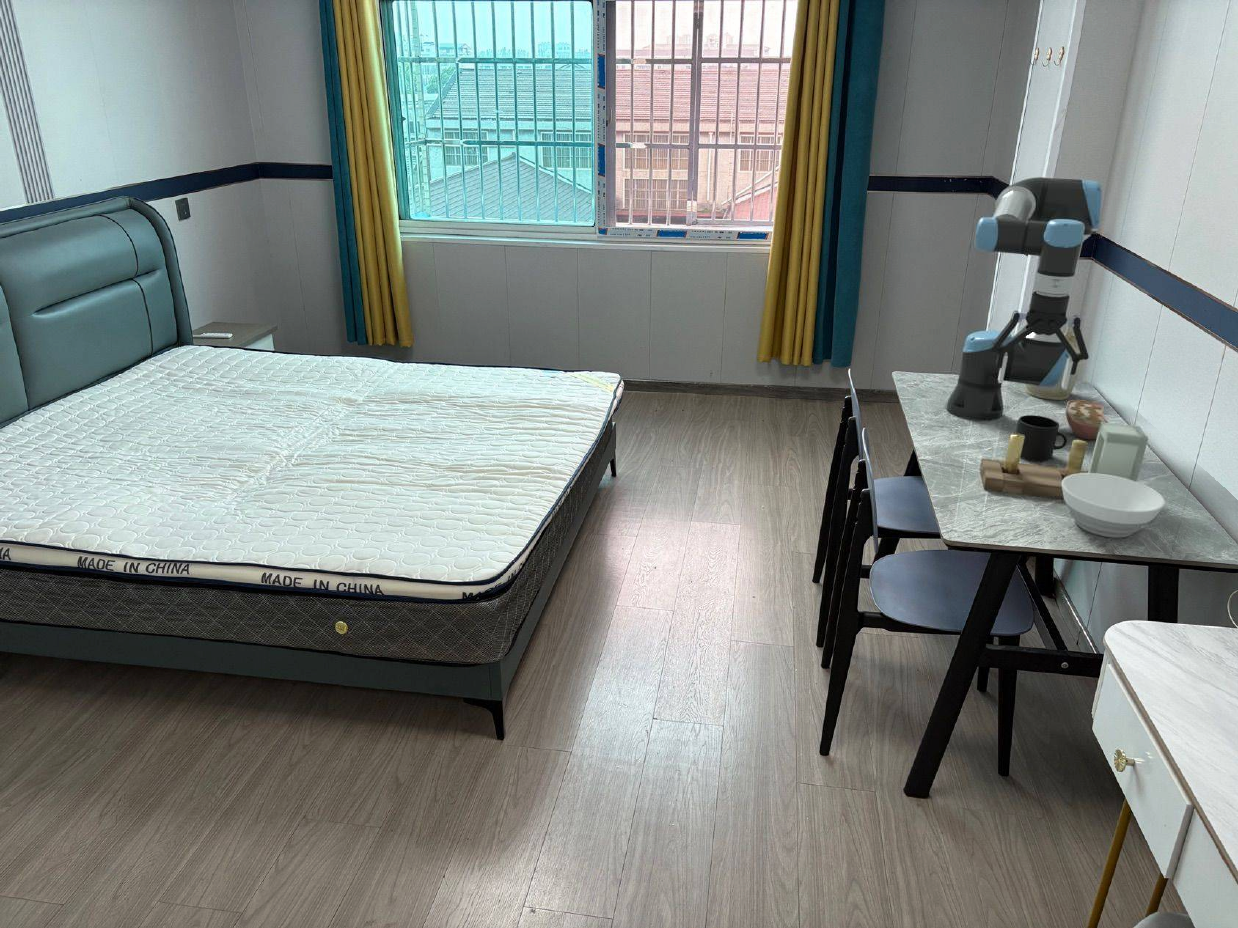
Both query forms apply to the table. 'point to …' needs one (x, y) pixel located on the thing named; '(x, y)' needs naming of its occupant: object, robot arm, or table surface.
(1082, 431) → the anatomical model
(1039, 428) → the mug
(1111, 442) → the housing
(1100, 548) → the table surface
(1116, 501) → the bowl
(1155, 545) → the table surface
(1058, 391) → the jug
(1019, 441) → the pin
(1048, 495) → the wooden slotted block
